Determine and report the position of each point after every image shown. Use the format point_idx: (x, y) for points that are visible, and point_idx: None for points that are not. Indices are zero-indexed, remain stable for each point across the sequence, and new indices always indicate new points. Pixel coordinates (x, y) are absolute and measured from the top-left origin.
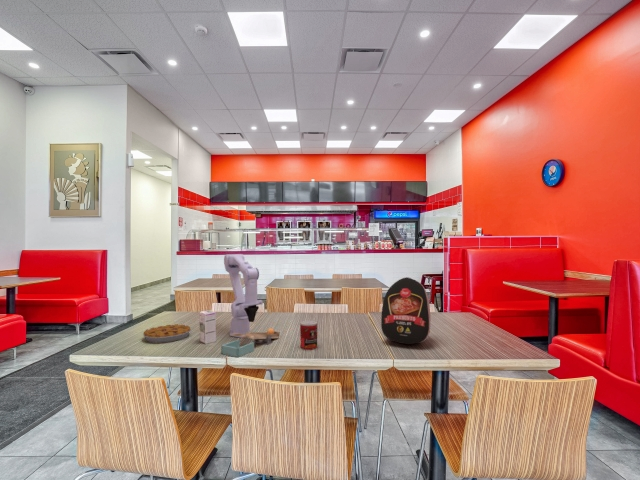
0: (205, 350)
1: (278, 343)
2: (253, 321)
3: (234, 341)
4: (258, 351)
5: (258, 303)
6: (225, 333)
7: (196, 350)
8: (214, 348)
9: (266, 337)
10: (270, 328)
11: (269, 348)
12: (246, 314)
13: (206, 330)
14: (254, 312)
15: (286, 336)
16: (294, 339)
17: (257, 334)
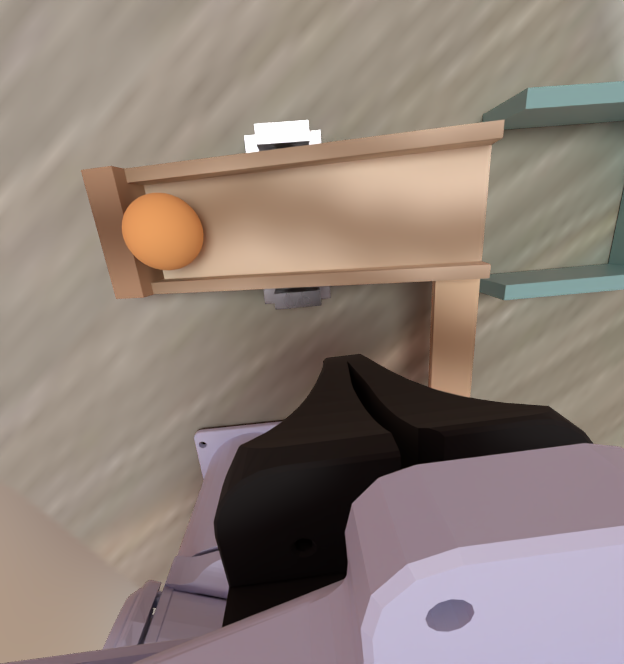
0: (595, 402)
1: (228, 68)
2: (337, 357)
3: (561, 280)
4: (483, 63)
5: (442, 501)
6: None
7: (610, 439)
8: (547, 392)
9: (308, 142)
10: (149, 236)
11: (379, 32)
12: (223, 609)
13: None
14: (362, 409)
15: (29, 166)
16: (29, 7)
17: (458, 125)
